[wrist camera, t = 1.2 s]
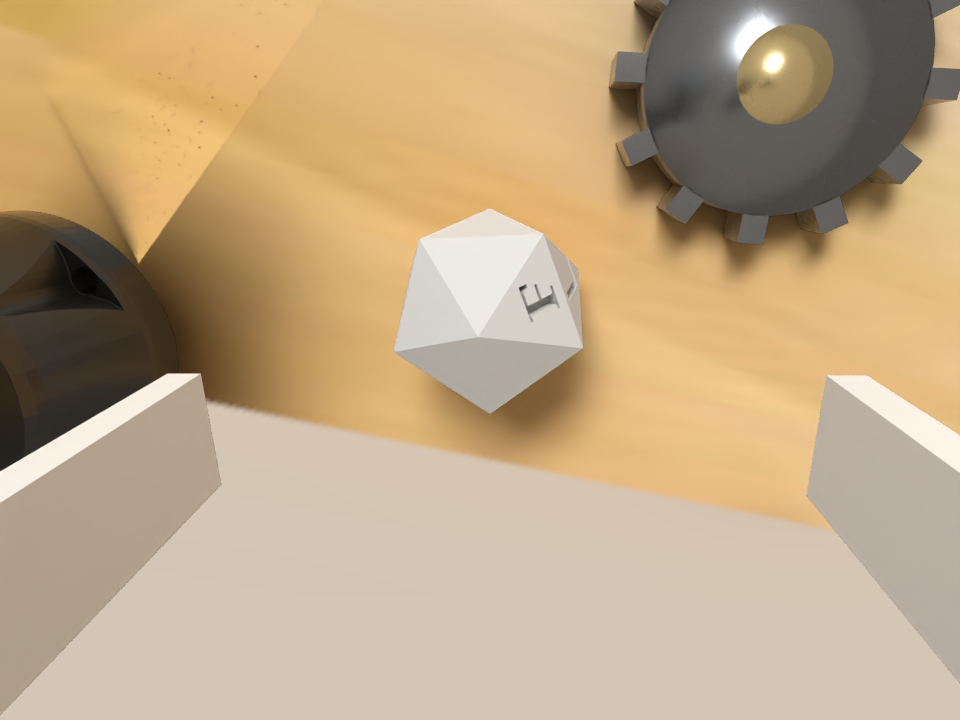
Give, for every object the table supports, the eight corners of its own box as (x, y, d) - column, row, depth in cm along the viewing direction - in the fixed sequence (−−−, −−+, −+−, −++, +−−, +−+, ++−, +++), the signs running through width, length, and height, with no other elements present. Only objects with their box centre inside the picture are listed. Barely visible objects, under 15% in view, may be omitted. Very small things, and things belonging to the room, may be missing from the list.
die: (599, 332, 33) (620, 398, 24) (452, 381, 35) (417, 460, 26) (549, 183, 31) (550, 190, 22) (395, 243, 33) (333, 275, 23)
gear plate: (592, 226, 31) (595, 231, 29) (632, -104, 27) (640, -130, 24) (883, 248, 30) (911, 256, 28) (977, -94, 26) (1021, -121, 23)
